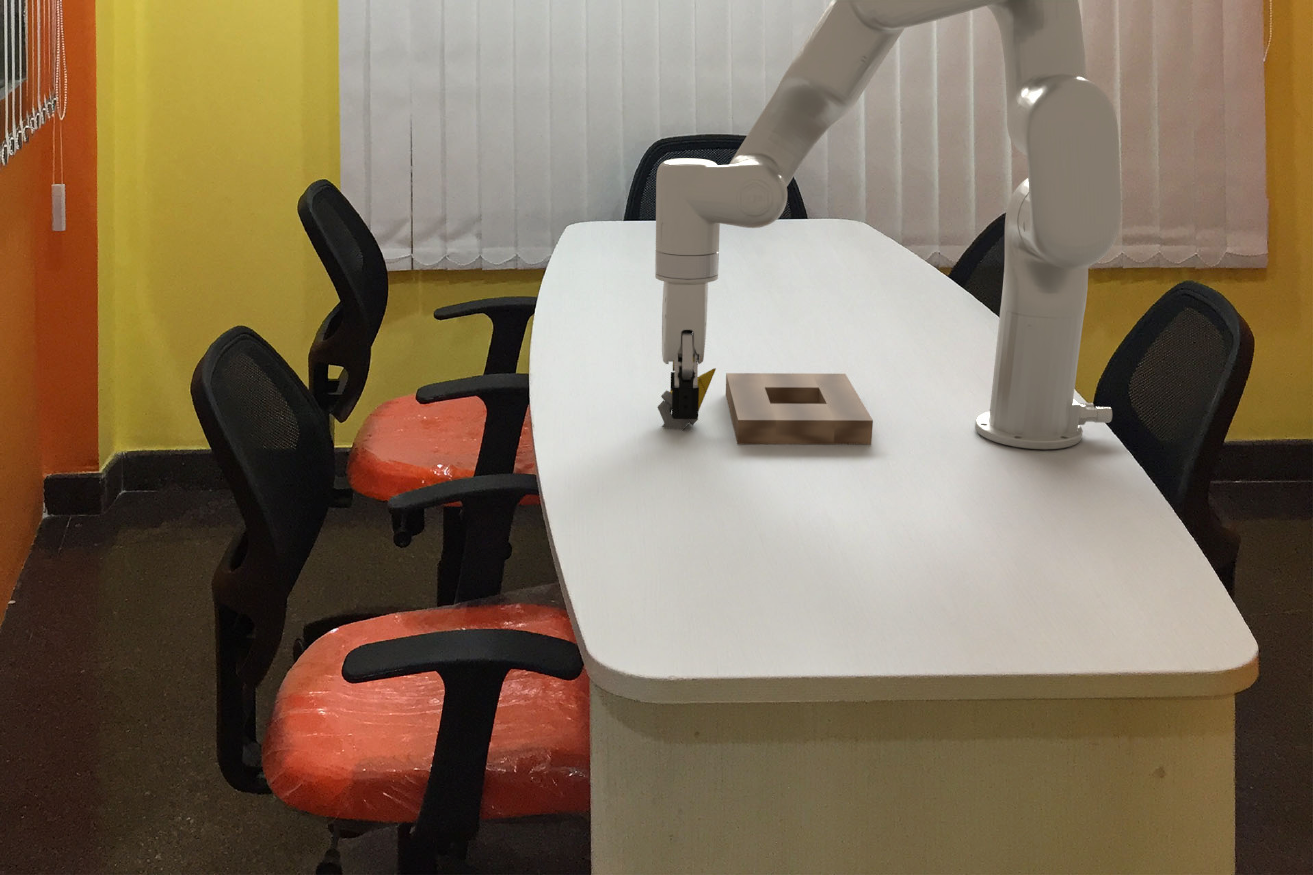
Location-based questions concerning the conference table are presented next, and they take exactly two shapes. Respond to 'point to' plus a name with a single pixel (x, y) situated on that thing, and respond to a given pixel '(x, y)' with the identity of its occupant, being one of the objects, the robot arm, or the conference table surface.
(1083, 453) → the conference table surface
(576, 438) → the conference table surface
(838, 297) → the conference table surface
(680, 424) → the drill bit
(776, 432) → the holder block
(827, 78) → the robot arm
